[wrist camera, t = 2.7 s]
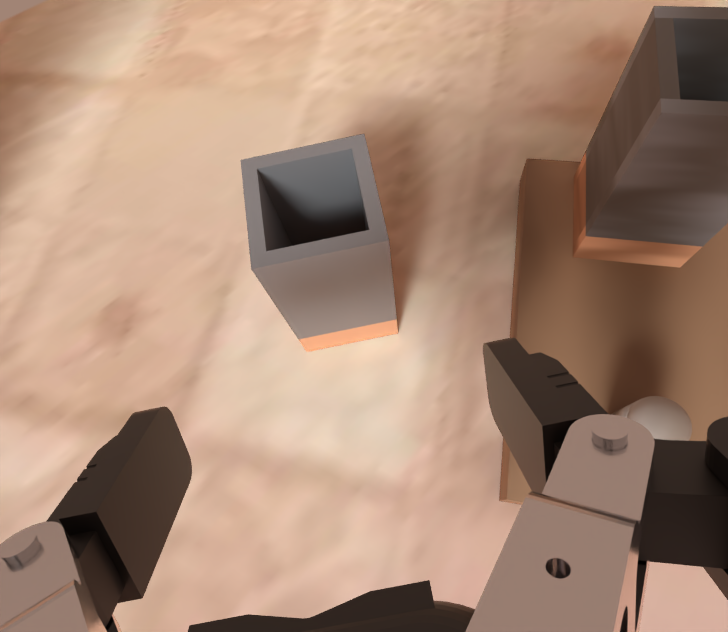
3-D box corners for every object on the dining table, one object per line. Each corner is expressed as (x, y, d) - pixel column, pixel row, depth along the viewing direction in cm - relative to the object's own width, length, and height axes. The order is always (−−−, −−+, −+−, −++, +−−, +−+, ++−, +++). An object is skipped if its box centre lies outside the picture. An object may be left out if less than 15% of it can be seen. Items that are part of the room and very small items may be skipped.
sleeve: (397, 333, 26) (388, 240, 17) (306, 351, 26) (251, 269, 17) (380, 253, 28) (364, 133, 19) (295, 271, 28) (240, 159, 19)
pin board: (499, 500, 22) (575, 488, 12) (519, 181, 29) (581, -14, 18) (738, 542, 21) (1079, 573, 10) (702, 195, 27) (887, -10, 16)
